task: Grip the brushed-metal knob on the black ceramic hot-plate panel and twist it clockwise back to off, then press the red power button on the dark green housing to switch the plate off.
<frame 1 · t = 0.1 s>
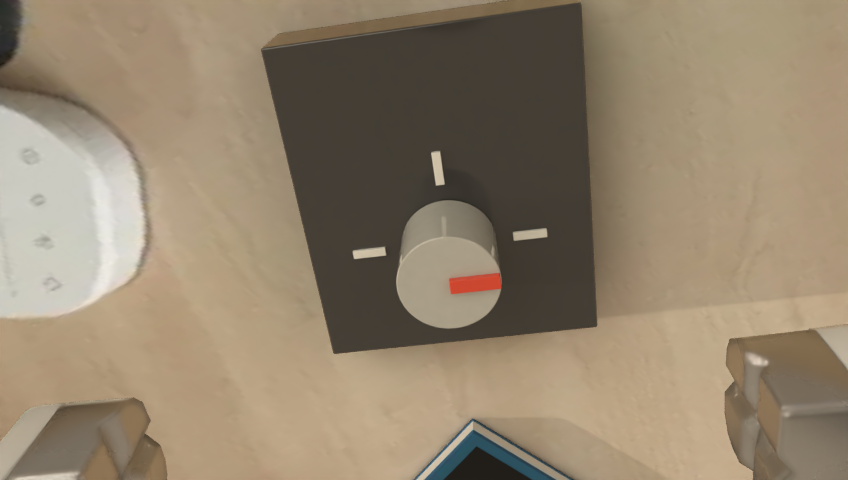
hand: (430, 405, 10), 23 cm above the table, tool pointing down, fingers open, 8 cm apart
hob knob: (448, 264, 29), point 5 cm above the table, hinge at 90.0°
hob: (443, 173, 33), on the table
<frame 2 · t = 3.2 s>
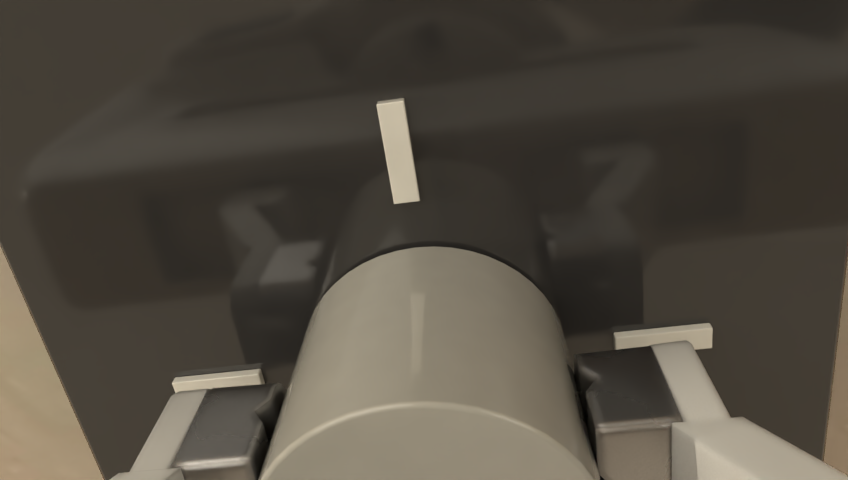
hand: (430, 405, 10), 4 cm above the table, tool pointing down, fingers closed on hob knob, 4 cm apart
hob knob: (431, 448, 9), point 5 cm above the table, hinge at 90.1°, touching gripper
hob: (422, 169, 13), on the table
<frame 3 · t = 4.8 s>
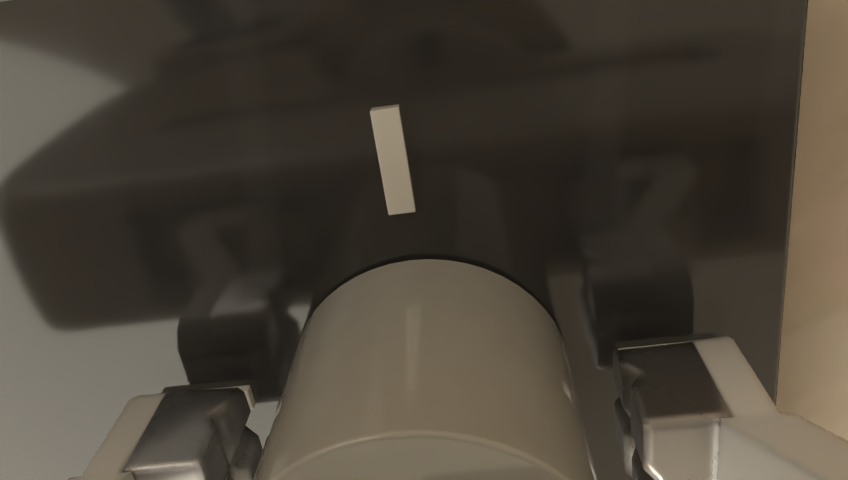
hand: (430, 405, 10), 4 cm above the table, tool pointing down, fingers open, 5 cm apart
hob knob: (427, 472, 9), point 5 cm above the table, hinge at 0.7°
hob: (328, 289, 14), on the table
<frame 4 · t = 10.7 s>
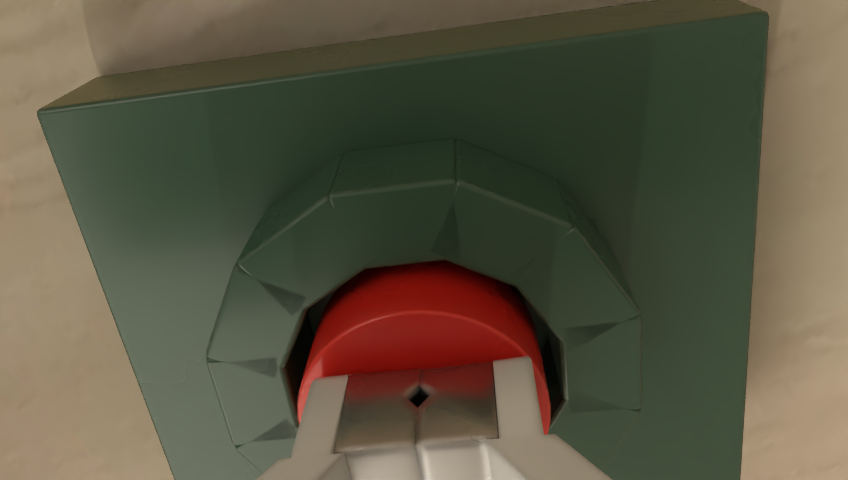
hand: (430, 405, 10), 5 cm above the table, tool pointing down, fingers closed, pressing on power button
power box: (430, 262, 15), on the table
power button: (425, 382, 11), point 4 cm above the table, slide at -0.5 cm, touching gripper
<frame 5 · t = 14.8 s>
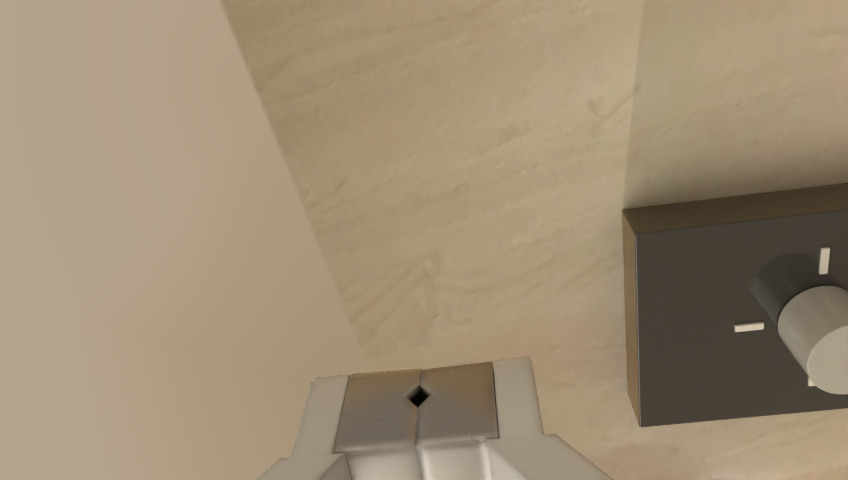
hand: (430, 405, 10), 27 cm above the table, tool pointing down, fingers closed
hob knob: (835, 340, 35), point 5 cm above the table, hinge at 0.7°
hob: (754, 293, 40), on the table
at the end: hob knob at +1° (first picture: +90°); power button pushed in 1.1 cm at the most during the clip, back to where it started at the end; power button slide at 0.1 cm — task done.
